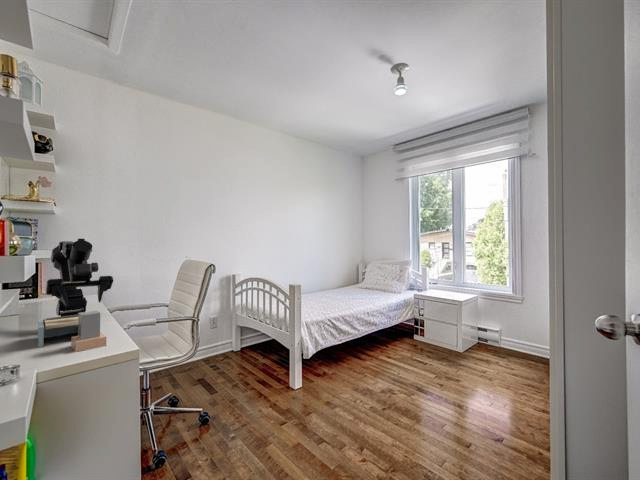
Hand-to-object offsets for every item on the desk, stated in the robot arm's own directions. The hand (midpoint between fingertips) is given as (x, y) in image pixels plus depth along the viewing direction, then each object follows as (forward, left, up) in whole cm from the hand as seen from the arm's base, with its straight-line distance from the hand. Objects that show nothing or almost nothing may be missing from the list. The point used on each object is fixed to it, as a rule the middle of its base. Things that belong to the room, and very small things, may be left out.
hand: (84, 303), depth 104 cm
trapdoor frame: (-4, -8, -13) cm, 16 cm away
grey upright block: (+6, +6, -10) cm, 13 cm away
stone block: (+6, +6, -13) cm, 15 cm away
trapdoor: (-4, -8, -8) cm, 12 cm away
